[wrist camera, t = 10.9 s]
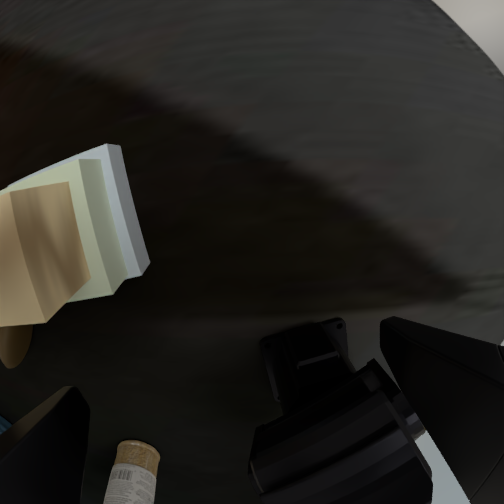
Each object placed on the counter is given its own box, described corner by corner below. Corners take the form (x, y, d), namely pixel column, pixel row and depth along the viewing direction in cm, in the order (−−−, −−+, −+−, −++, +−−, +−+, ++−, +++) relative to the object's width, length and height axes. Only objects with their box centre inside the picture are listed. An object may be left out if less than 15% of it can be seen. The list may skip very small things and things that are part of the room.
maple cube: (91, 277, 14) (46, 322, 9) (23, 289, 14) (-26, 328, 9) (68, 181, 13) (9, 191, 8) (1, 204, 13) (-59, 222, 8)
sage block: (128, 274, 18) (112, 294, 15) (41, 291, 17) (19, 310, 14) (100, 159, 16) (78, 159, 13) (13, 191, 15) (-14, 197, 12)
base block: (151, 260, 20) (141, 275, 18) (59, 282, 20) (41, 298, 17) (122, 146, 18) (106, 143, 15) (30, 182, 18) (7, 185, 15)
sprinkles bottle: (125, 460, 25) (104, 561, 13) (112, 435, 24) (83, 546, 11) (165, 464, 26) (155, 571, 13) (156, 439, 25) (139, 558, 12)
